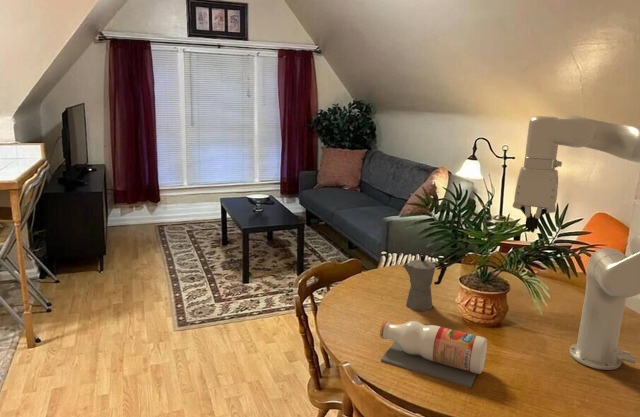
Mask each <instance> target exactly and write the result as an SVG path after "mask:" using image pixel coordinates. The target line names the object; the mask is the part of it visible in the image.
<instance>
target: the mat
mask: <svg viewBox="0 0 640 417" xmlns="http://www.w3.org/2000/svg"><path fill="white" fill-rule="evenodd" d="M380 361H381V362H383V363H387V364H389V365H393V366H397V367H399V368H403V369H407V370H410V371H413V372H416V373H421V374H423V375H427V376H430V377H432V378H436V379H440V380H443V381H446V382H449V383H453V384H457V385H460V386H463V387H467V388H470V389H471V388H472V386H473V384H474V382H475V379H476V376H477V375H478V374H477V373H473V372H469V371H465V370H462V369H458V368H455V367H451V366H448V365H444V364H441V363H437V362H433V361H430V360H427V359H425V358H423V357H422V356H420V355H411V354H408V353H406V352H404V351H403V350H402V349H401V347H400V346H399V345H398V344H397V343H395V342H394V341H393V343H392V345H391V346H390V347H389V349H387V351H386V352H385V354H383V356H382V357H381V358H380Z"/></svg>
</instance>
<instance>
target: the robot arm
mask: <svg viewBox="0 0 640 417" xmlns="http://www.w3.org/2000/svg"><path fill="white" fill-rule="evenodd" d="M528 122H529V123H528V129H527V136H526V138H527V139H526V146H525V153H524V154H525V155H524V162H523V166H522V167H521V168H520V170H519V173H518V175H517V176H518V177H517V181H516V187H515V192H514V196H513V197H514V198H513V199H514V200H513V204H512V208H514V209H517V210H520V211H521V212H522V213H523V215H524V216H525V225H524V227H525V229H526V228H527V231H526V232H527V233H530V232H531V233H535V231H536V230H538V228H539V220H540V218H541V217H543V216H544V215H545V214H553V213H556V211H557V207H556V203H557V197H558V188H559V172H558V170H557V169H556V168H558V167H562V165H563V161H559V160H558V159H557V154H558V148H559V146H565V147H570V148H575V149H576V148H577V149H578V148H579V149H580V148H587V149H591V150H596V151H600V152H604V153H606V154H610V155H612V156H615V157H617V158H620V159H623V160H627V161H630V162H635V163H638V164H640V126H636V125H628V124H619V123H613V122H608V121H602V120H599V119H598V120H596V119H591V118H587V117H583V116H579V115H568V116H565V117H563V118H558V117H557V116H545V115H544V116H541V115H537V116H533V117H531V118H530V120H529V121H528ZM532 207H533V208H536V210H535V213H534V214H532ZM629 250H630V253H631V255H630V256H626V254H624V253H623V252H622V251H620V250H618V249H616V248H611V247H603V248H600V249H598V250H596V251H594V252H593V253H592V255H590V258H589V259H588V262H587V265H586V285H585V292H584V299H583V306H582V309H581V310H582V311H581V318H580V324H579V328H578V329H579V330H578V336H577V341H576V342H577V343H573V344H572V345H570V347H569V355H570V356H571V357H572V358H573V360H575V361H576V362H579V363H580V364H582V365H584V366H586V367H590V368H593V369H597V370H603V371H605V370H606V371H610V370H613V371H614V370H617V369H618V368H620V367H621V365H622V361H625V362H627V363H631V364H636V363H637V362H636V361H637V356H635V355H631V351H629V350H628V351H627V350H622V349H621V348H619V338H620V333H621V329H622V328H621V327H622V322H623V316H624V312H625V307H626V300H627V299H629V298H632V297H636V296H638V295H640V233H638V234H637V235H635V236H634V237H633V238H632V239H631V241H630V243H629Z"/></svg>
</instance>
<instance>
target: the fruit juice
mask: <svg viewBox="0 0 640 417" xmlns="http://www.w3.org/2000/svg"><path fill="white" fill-rule="evenodd" d="M379 337H380V338H381V339H383V340H391V341H392V342H393V343H394V342H395V343H397V344H398V345H399V346H400V347H401V349H402V350H403V351H404V352H406V353H408V354H411V355H420V356H422V357H423V358H425V359H427V360H430V361H433V362H437V363H441V364H444V365H448V366H451V367H455V368H458V369H462V370H465V371H469V372H473V373H477V374H476V375H480V374H481V373H482V372H483V369H484V367H485V361H486V357H487V349H488V340H487V338H485V337H484V336H480V335H476V334H472V333H467V332H464V331H459V330H455V329H451V328H448V327H443V326H439V325H435V324H429V325H428V324H427V325H426V324H423V323H422V322H420V321H418V320H417V321H416V320H409V321H407V322H405V323H402V324H393V323H391V322H389V321H386V320H385V321H382V323H381V325H380V329H379Z"/></svg>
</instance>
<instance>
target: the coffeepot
mask: <svg viewBox="0 0 640 417" xmlns="http://www.w3.org/2000/svg"><path fill="white" fill-rule="evenodd" d="M438 262H440V263H438ZM444 265H446V263H445V262H444V261H442V262H441V261H430V260H427V259H426V256H425V255H420V259H417V258H416V259H413V260H409V261H408V262H407V263H405V264H403V266H402V267H403V268H404V269H405V270H406V272H407V274H408V276H409V283H410V287H409V291H408V295H407V299H406V307H408V309H411V310H412V311H417V310H418V311H419V312H426V311H431V309H433V301H432V300H433V299H432V288H431V285H432V284H434V285H437V286H438V285H440V284H441V282H442V280H443V278H444V276H445V273H446V271H447V268H448V266H447V267H445V268H442V267H443V266H444ZM437 268H441V269H440V272H439V275H438V277H437V281H434V280H433V279H434V274H435V270H436V269H437ZM433 281H434V283H433Z"/></svg>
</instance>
